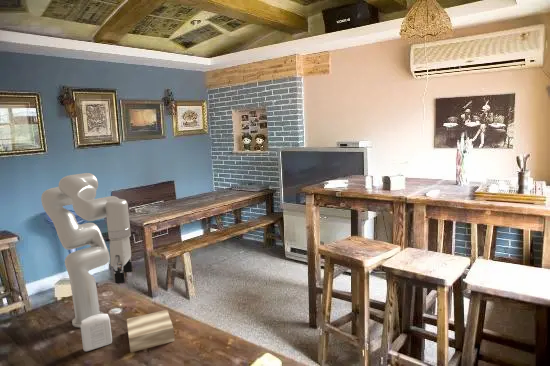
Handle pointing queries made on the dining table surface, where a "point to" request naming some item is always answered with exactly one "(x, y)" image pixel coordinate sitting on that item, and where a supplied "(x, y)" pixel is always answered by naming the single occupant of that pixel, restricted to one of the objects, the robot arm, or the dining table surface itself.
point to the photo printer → (96, 332)
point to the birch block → (150, 330)
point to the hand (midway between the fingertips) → (124, 277)
